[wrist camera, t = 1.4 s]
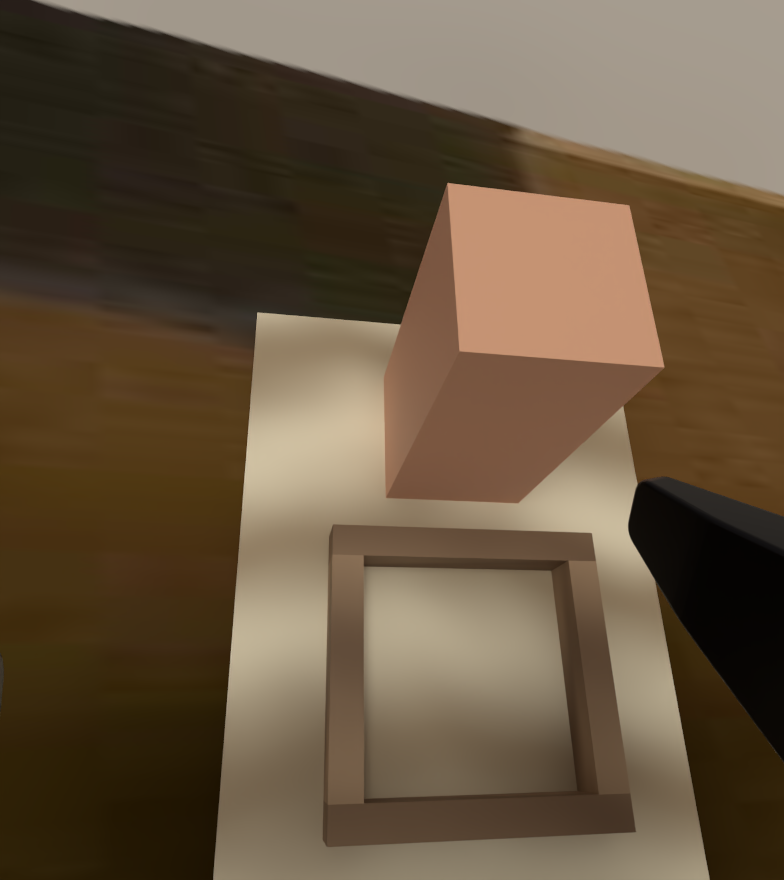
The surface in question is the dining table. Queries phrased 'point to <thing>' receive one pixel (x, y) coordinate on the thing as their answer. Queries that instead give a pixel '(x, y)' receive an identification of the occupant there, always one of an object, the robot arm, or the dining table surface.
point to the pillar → (514, 343)
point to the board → (438, 655)
